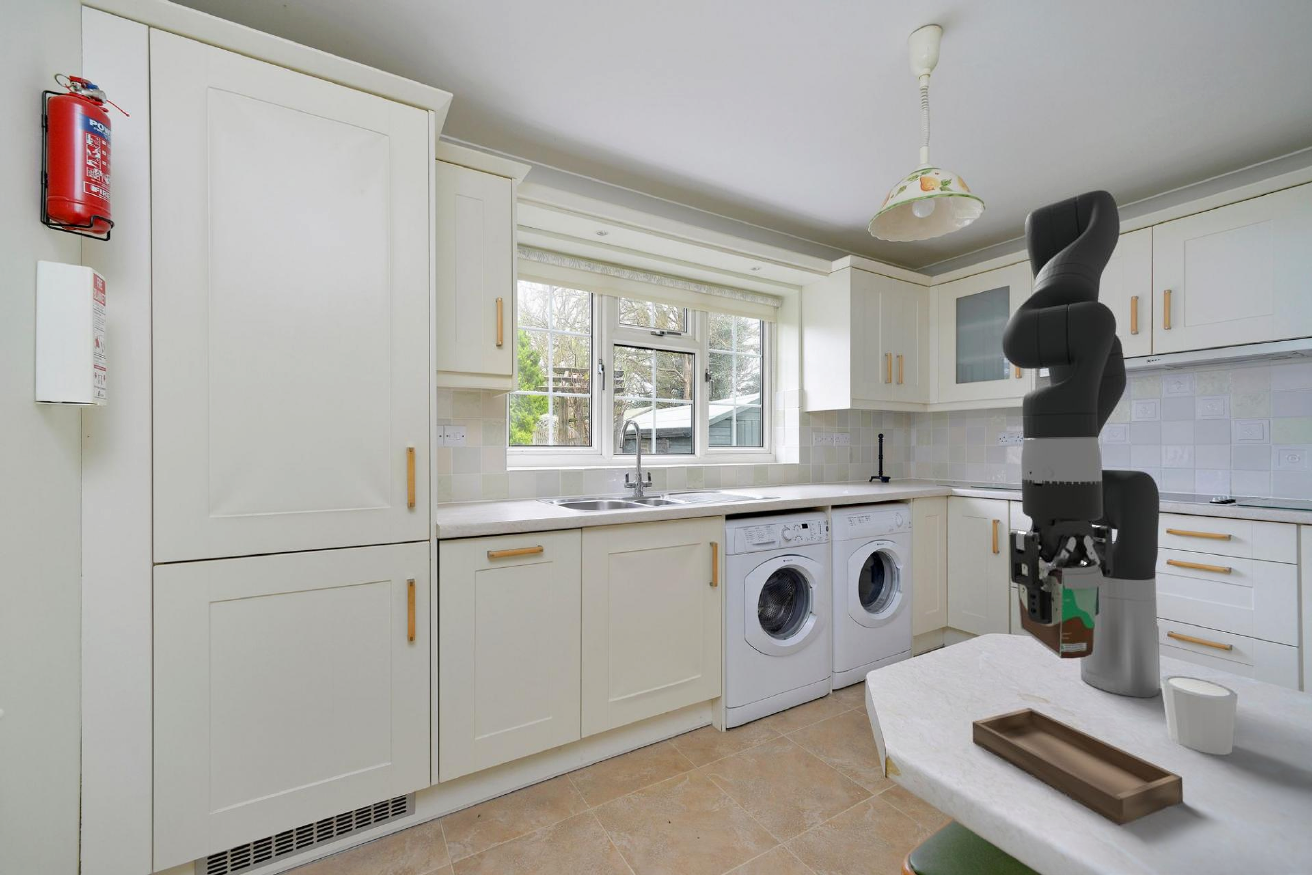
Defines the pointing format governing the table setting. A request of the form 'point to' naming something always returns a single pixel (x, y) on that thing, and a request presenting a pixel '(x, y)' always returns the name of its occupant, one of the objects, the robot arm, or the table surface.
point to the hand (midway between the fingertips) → (1063, 617)
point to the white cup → (1199, 713)
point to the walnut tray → (1080, 765)
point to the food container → (1066, 610)
